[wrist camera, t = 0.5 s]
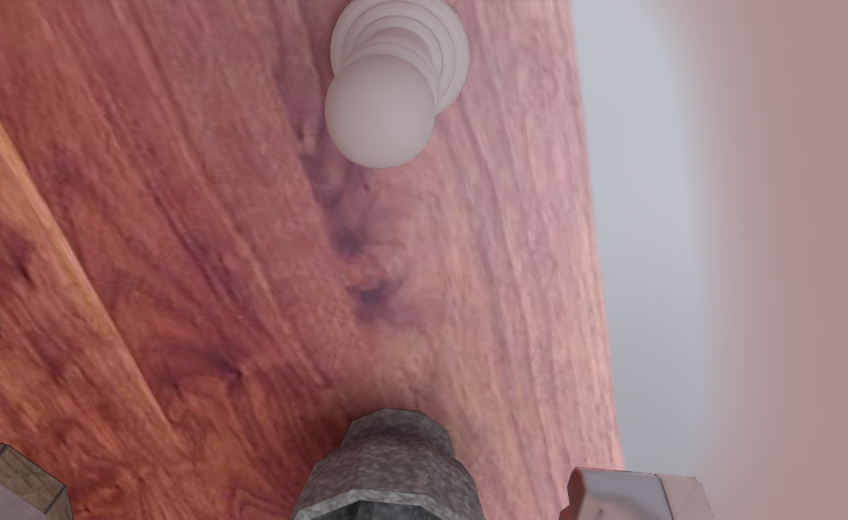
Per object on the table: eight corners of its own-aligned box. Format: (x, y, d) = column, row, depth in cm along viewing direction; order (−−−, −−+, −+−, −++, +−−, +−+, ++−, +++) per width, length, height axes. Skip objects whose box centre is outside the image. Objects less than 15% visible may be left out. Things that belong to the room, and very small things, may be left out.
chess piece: (322, -13, 26) (261, 46, 18) (465, -26, 25) (465, 29, 18) (343, 124, 29) (298, 227, 21) (473, 115, 28) (477, 216, 20)
